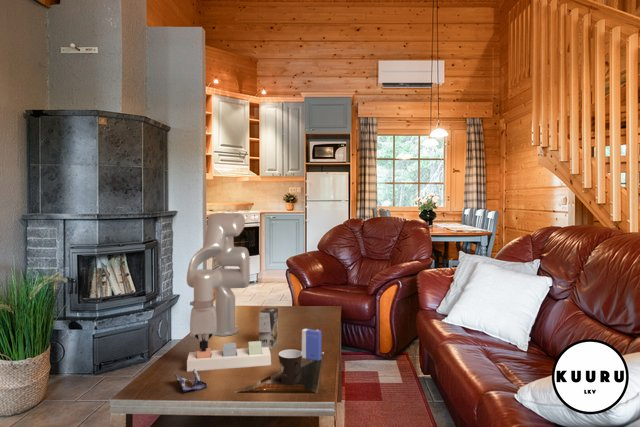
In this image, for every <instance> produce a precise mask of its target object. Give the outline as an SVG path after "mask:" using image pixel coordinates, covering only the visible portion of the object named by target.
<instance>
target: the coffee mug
mask: <svg viewBox="0 0 640 427" xmlns="http://www.w3.org/2000/svg"><path fill="white" fill-rule="evenodd" d="M278 360H279V367H280V368H279V370H280V377H281V378H280V379H281V383H282V384H285V385H296V384H299V382H300V377H301V373H302V360H303V358H302V350H300V349H299V350H298V349H291V348H290V349H284V350H281V351H279V352H278Z"/></svg>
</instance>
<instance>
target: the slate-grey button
mask: <svg viewBox="0 0 640 427" xmlns="http://www.w3.org/2000/svg"><path fill="white" fill-rule="evenodd" d="M236 349H237V343H236V342H225V343H224V342H223V348H222V350H223V357H226V356H236Z"/></svg>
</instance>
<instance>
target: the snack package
mask: <svg viewBox="0 0 640 427" xmlns="http://www.w3.org/2000/svg"><path fill="white" fill-rule="evenodd" d="M189 372H193V374H194V379H193V380H191V379H190V380H189V379H186V378H185V377H183V378H182V375H178V374H176V373H175V372H174V377H175V379H176V380H177V381H178V384H179V385H180V387H181V389H182V391H183V392H184V393H185V392H188V391H192V390H193V391H194V392H197V390H198V391H202V390H204V389H207V387H208V386H207V383H206V382H204V381H201V379H200V374H198V371H196V370H195V369H194V370H193V371H191V370H190V371H189ZM186 380H189V381H188V382H190V381H191V382H192V385H194V386H192V385H191V387H192V388H191V387H189V388H188V386H187V385H186V386H187V387H186V386H185V381H186ZM191 382H190V383H191ZM197 386H202V387H197ZM194 387H195V388H194ZM196 387H197V388H196Z"/></svg>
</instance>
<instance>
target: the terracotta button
mask: <svg viewBox="0 0 640 427" xmlns="http://www.w3.org/2000/svg"><path fill="white" fill-rule="evenodd" d="M211 348H212V347H208V348H206V351H202V349H200V347H199V348H197V351H196V352H197V359H198V358H211V351H212V349H211Z"/></svg>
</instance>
